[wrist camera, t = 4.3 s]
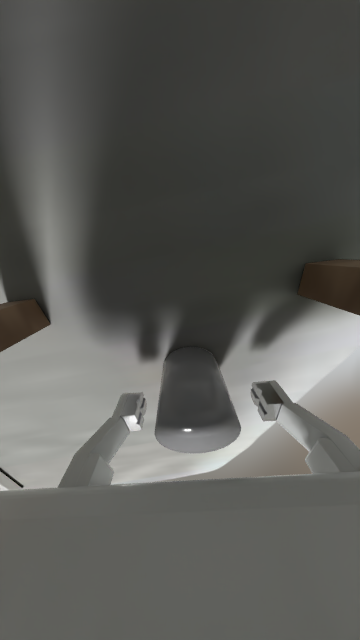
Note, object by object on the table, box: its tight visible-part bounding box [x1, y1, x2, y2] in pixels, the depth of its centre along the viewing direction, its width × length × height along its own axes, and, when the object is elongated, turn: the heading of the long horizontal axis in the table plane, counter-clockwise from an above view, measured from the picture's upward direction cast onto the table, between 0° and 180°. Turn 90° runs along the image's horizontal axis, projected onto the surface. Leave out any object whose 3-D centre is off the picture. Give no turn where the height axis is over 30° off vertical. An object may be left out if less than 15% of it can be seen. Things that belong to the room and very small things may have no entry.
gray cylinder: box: [155, 347, 241, 453], centre depth 10 cm, size 5×5×5 cm
